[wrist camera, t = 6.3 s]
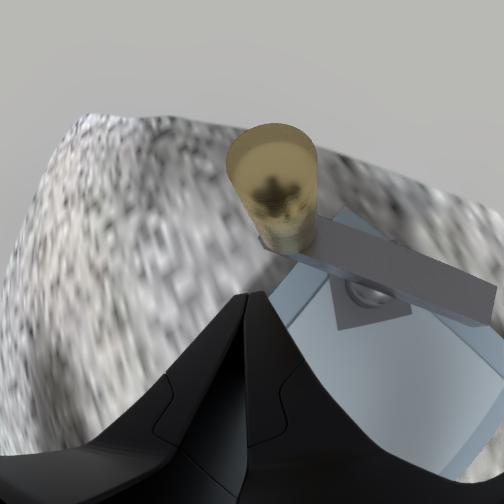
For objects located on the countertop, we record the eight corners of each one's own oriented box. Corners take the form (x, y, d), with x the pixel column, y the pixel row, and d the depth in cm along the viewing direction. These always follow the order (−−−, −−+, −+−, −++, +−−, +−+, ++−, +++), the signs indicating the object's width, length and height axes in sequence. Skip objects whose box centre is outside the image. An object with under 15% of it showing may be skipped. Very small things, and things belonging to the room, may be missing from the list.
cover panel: (373, 535, 12) (377, 552, 10) (185, 398, 18) (170, 405, 16) (517, 367, 14) (535, 368, 12) (342, 216, 19) (344, 202, 17)
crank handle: (445, 338, 14) (563, 329, 5) (265, 270, 17) (207, 190, 8) (458, 291, 14) (571, 242, 5) (284, 226, 17) (250, 111, 8)
